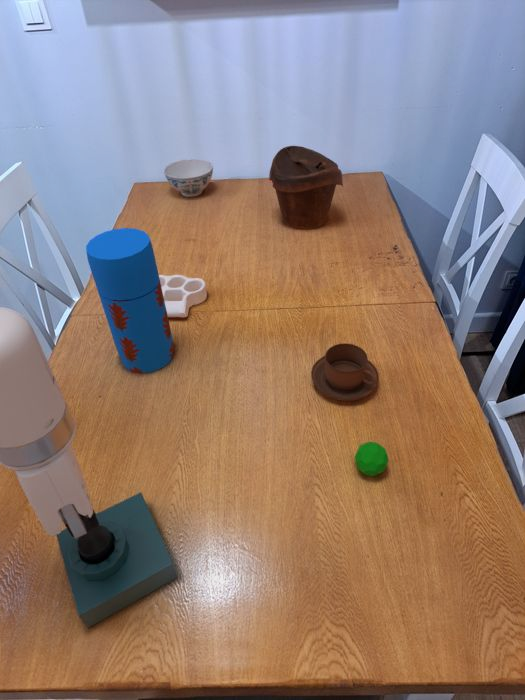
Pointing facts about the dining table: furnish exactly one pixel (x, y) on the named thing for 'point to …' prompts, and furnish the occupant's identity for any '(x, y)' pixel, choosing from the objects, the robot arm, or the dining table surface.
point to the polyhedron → (371, 458)
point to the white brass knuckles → (181, 293)
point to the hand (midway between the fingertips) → (84, 525)
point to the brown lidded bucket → (304, 185)
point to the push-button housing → (118, 562)
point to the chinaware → (189, 176)
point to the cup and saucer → (345, 373)
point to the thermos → (132, 298)
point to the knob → (96, 544)
